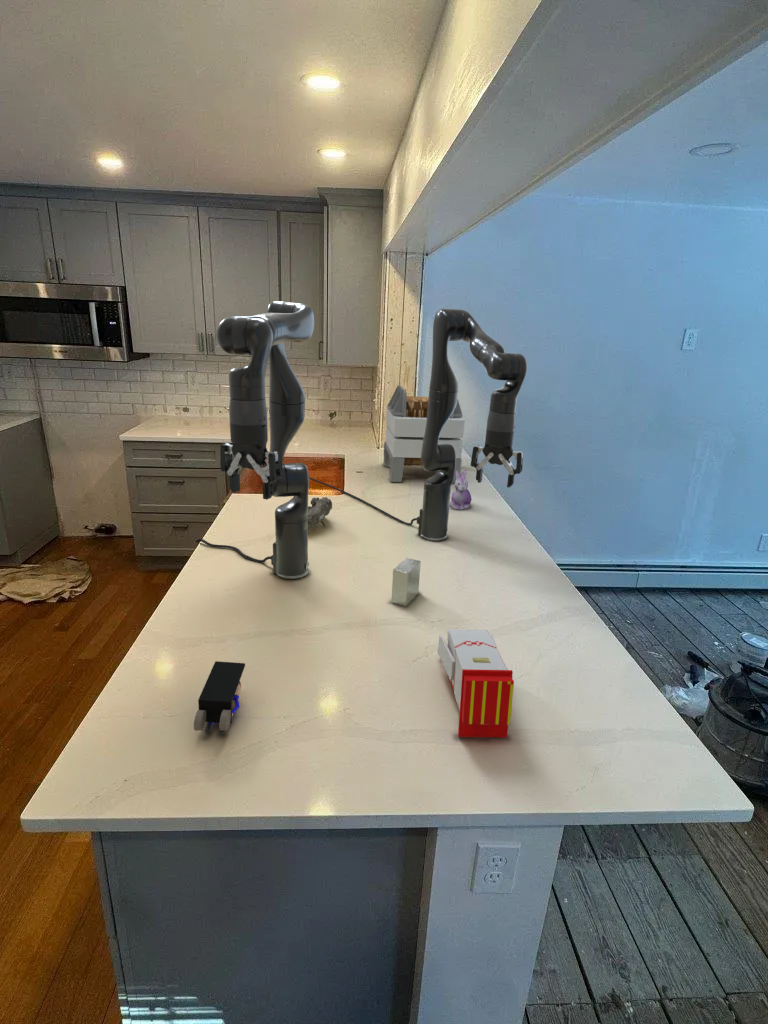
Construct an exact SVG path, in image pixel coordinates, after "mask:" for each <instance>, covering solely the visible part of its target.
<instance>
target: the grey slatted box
mask: <svg viewBox="0 0 768 1024" xmlns="http://www.w3.org/2000/svg"><path fill="white" fill-rule="evenodd" d="M407 394H408V393H407V390H406V389H404V388H403V387H402V385H399V384H398V385H397V386H396V388H395V390H394V392H393V394H392V395H391V398H390V400H389V402H388V404H387V405H386V413H385V414H386V415H385V423H386V428H385V438H384V442H383V466H384V467H388V468H389V475H388V476H389V477H388V478H389V480H390V482H391V483H402V482H403V475H404V469H405V466H406V467H407V466H411V467H412V466H413V467H415V466H416V467H417V466H418V467H422V464H421V450H422V444H423V439H424V434H425V428H426V421H427V412H428V398H429V396H415V395H414V396H413V395H412V396H411V395H407ZM464 429H465V419H464V418H463V411H462V408H461V405H460V402H459V398H457V405H456V407H455V410H454V411H453V413H452V415H451V416H450V418H449V419H448V420H447V422H446V423H445V425H444V426H443V428H442V430H441V433H440V436H439V440H438V443H451V444H452V445H453V446H454V448H455V451H456V465H455V472H454V479H453V484H455V481H456V471H459V473H460V475H462V473H461V472H462V461H463V460H462V453H463V442H464V441H463V440H462V439H463V438H464V431H465V430H464Z"/></svg>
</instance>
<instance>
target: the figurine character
mask: <svg viewBox="0 0 768 1024" xmlns="http://www.w3.org/2000/svg"><path fill="white" fill-rule="evenodd" d="M245 667H246V662H232V661H217V660H215V661H214V663H213V665H212V668H211V670H210V672H209V674H208V677H207V678H206V681H205V684H204V686H203V688H202V690H201V692H200V695H199V697H198V700H197V701H198V704H197V705H198V710H196V713H195V716H194V721H193V729H194V731H204V733H205V735H206V736H207V735H208V734H210V732H211V727H212V725H213V724H218V725H219V726H218V727H219V730H220V735H221V736H222V735H224V734H225V733H226V731H228V730H229V728H230V725H232V723H233V716H234V714H235V713H236V712H237V711H238V710H239V709H240V707H241V705H240V702H239V699H240V696H239V695H240V693H241V690H242V683H241V678H242V676H243V673H244V670H245ZM233 702H234V704H235V706H234V707H233ZM206 723H207V724H206ZM205 726H206V727H205ZM204 728H205V730H204Z"/></svg>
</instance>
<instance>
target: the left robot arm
mask: <svg viewBox="0 0 768 1024" xmlns="http://www.w3.org/2000/svg"><path fill="white" fill-rule="evenodd" d="M314 331H315V314H314V310H313V309H312V308H311V306H309V305H307V304H306V303H301V302H293V301H292V302H291V301H282V300H281V301H280V300H273V301H270V302H269V304H268V307H267V312H261V313H258V314H254V315H247V316H243V315H242V316H241V315H240V316H239V315H238V316H237V315H236V316H227V317H225V318H224V319H223V320H221V322H219V324H218V326H217V329H216V340H217V343H218V345H219V347H220V348H221V350H222V351H224V352H225V353H227V354H229V355H237V356H251V359H250V362H249V363H248V365H245V366H238V367H234V368H231V369H230V371H229V373H228V388H229V389H228V390H229V405H228V406H229V409H228V414H229V435H230V436H229V437H230V442H226V443H223V444H220V449H219V450H220V451H219V453H220V455H219V456H220V460H219V461H220V464H219V465H220V471H221V472H223V473H224V472H225V473H227V474H226V475H228V485H229V489H230V492H231V493H237V492H240V491H241V478H240V477H241V476H240V475H241V474H240V472H241V470H242V469H249V470H253V471H255V473H256V474H257V475H259V476H260V478H261V480H262V499H263V500H266V501H267V500H269V499H272V497H274V498H287V497H292V498H291V499H289V500H288V501H286V502H284V503H282V504H280V505H278V506H276V508H275V511H274V533H275V537H274V538H275V541H274V542H273V543H272V554H271V555H269V556H266V557H264V558H263V559H256V558H254V557H251V556H250V555H247V554H245V553H243V552H242V551H241V549H239V548H238V547H236V546H232V545H226V544H215V543H211V542H208V541H207V540H206V539H204V538H198V539H197V540H196V541H195V542H196V543H199V542H202V543H203V544H205V545H207V546H209V547H213V548H221V549H222V548H223V549H231V550H234V551H236V552H237V553H238V554H239V555H240V556H241V557H243V558H245V559H247V560H249V561H252V562H255V563H260V564H261V563H262V564H263V563H265V562H266V561H267V560H270V562H271V563H270V564H271V566H272V569H273V570H272V572H273V574H274V575H276V576H277V577H279V578H281V579H284V580H298V579H302V578H304V577H306V576H307V575H308V574H309V566H310V560H309V532H308V507H309V492H310V491H309V490H310V479H309V477H310V472H309V468H308V466H307V464H305V463H304V462H286V463H283V462H284V457H285V455H286V452H287V450H288V447H289V445H290V443H291V442H292V440H293V439H294V437H295V436H296V435H297V433H298V431H299V430H300V428H301V427H302V425H303V423H304V420H305V417H306V416H305V415H306V394H305V390H304V388H303V386H302V383H301V382H300V380H299V378H298V376H297V375H296V374H295V372H294V370H293V368H292V366H291V364H290V362H289V360H288V357H287V353H286V347H285V343H289V342H291V343H304V342H308V341H310V339H311V338H312V336H313V333H314ZM268 363H269V396H268V406H269V407H267V401H266V373H267V367H268ZM268 412H269V414H268ZM268 415H269V434H268ZM268 435H269V437H268ZM268 438H269V439H268ZM268 440H269V441H270V442H269V450H268V448H267V444H268ZM233 456H234V458H233Z"/></svg>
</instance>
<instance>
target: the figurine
mask: <svg viewBox="0 0 768 1024" xmlns="http://www.w3.org/2000/svg"><path fill="white" fill-rule="evenodd" d="M466 478H467V470H466V469H464V470H463V471H462V473H461V474H460V473H459V471H456V481H455V483H453V485H454V491H453V492H452V493H451V500H450V507H451V508H452V509H454V510H461V511H462V510H467V509H468V508H470V507H471V502H472V495H471V492H470V491H469V489H468V487H469V483H468V480H467V479H466Z"/></svg>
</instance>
